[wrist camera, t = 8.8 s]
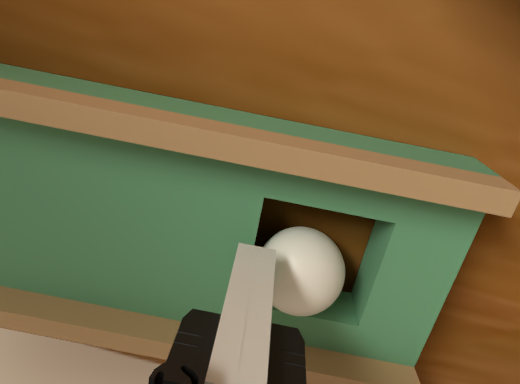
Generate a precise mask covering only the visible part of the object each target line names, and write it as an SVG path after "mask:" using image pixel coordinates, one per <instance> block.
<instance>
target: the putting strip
mask: <svg viewBox="0 0 520 384" xmlns="http://www.w3.org/2000/svg"><path fill="white" fill-rule="evenodd" d="M264 198H269V199H275V200H280V201H285V202H290V203H295V204H300V205H305V206H310V207H315V208H320V209H325V210H330V211H335V212H340V213H345V214H350V215H356V216H361V217H366V218H371V219H376V220H375V223H374V226H373V229H372V232H371V235H370V238H369V241H368V244H367V247H366V250H365V253H364V256H363V258H362V261H361V264H360V267H359V270H358V273H357V276H356V279H355V282H354V285H353V288H352V291H351V293H350V292H345V291H341V292H340V294H339V296H338V298H337V299H336V300H335V301H334V303H333V304H332V305H331V306H329V307H328V308H327V309H325V310H324V311H322V312H320V313H317V314H314V315H311V316H293V315H289V314H286V313H284V312H282V311H280V310H278V309H277V308H275V307H274V306H273V305H272V318H271V323H274V324H279V325H284V326H289V327H294V328H298V329H299V331H300V333H301V335H302V337H303V339H304V341H305V360H306V367H305V368H306V383H307V384H420V381H419V379H418V376H417V373H416V370H415V368H414V367H415V364H416V362H417V360H418V358H419V356H420V354H421V351H422V349H423V347H424V345H425V343H426V341H427V338H428V336H429V334H430V332H431V330H432V328H433V325H434V323H435V321H436V319H437V317H438V315H439V313H440V310H441V308H442V306H443V304H444V302H445V300H446V297H447V295H448V293H449V291H450V289H451V287H452V284H453V282H454V280H455V278H456V276H457V274H458V271H459V269H460V267H461V265H462V263H463V261H464V259H465V256H466V254H467V252H468V250H469V248H470V246H471V243H472V241H473V239H474V237H475V235H476V233H477V230H478V228H479V226H480V224H481V222H482V220H483V217H484V215H485V213H489V214H494V215H499V216H504V217H509V218H511V217H512V215H513V213H514V211H515V209H516V207H517V205H518V203H519V201H520V190H519V189H518V188H516V187H515V186H513V185H512V184H511V183H509V182H508V181H506V180H505V179H504V178H502V177H501V176H499V175H498V174H497V173H495V172H494V171H492V170H491V169H490V168H488V167H487V166H485V165H484V164H483V163H481V162H480V161H478V160H477V159H476V158H474V157H470V156H465V155H460V154H455V153H450V152H445V151H440V150H435V149H430V148H425V147H420V146H415V145H410V144H404V143H399V142H394V141H389V140H384V139H379V138H374V137H369V136H364V135H359V134H354V133H349V132H344V131H339V130H334V129H329V128H324V127H319V126H314V125H309V124H304V123H299V122H294V121H289V120H284V119H278V118H273V117H268V116H263V115H258V114H253V113H248V112H243V111H238V110H233V109H228V108H223V107H218V106H213V105H208V104H203V103H198V102H193V101H188V100H183V99H178V98H173V97H168V96H163V95H158V94H153V93H147V92H142V91H137V90H132V89H127V88H122V87H117V86H112V85H107V84H102V83H97V82H92V81H87V80H82V79H77V78H72V77H67V76H62V75H57V74H52V73H47V72H42V71H37V70H32V69H27V68H22V67H16V66H11V65H6V64H1V63H0V328H5V329H10V330H15V331H21V332H26V333H31V334H36V335H41V336H46V337H51V338H56V339H62V340H66V341H71V342H77V343H82V344H87V345H92V346H97V347H102V348H107V349H112V350H117V351H123V352H128V353H133V354H138V355H143V356H148V357H153V358H158V359H163V360H167V358H168V355H169V353H170V350H171V347H172V345H173V343H174V339H175V337H176V334H177V332H178V329H179V326H180V323H181V321H182V318H183V317H184V316H185V315H186V314H187V313H188V312H189V311H190V310H192V309H198V310H203V311H208V312H213V313H218V314H221V313H222V309H223V305H224V301H225V297H226V293H227V289H228V285H229V281H230V277H231V273H232V268H233V264H234V260H235V256H236V252H237V248H238V244H239V243H244V244H249V245H254V244H255V239H256V234H257V230H258V225H259V220H260V215H261V210H262V205H263V200H264Z"/></svg>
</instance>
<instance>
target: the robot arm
mask: <svg viewBox="0 0 520 384" xmlns="http://www.w3.org/2000/svg"><path fill="white" fill-rule="evenodd" d="M275 260H276V250H274V249H269V248H264V247H259V246H254V245H249V244H244V243H239V244H238V248H237V252H236V256H235V260H234V264H233V268H232V273H231V277H230V281H229V285H228V289H227V293H226V297H225V301H224V305H223V309H222V313H221V314H218V313H213V312H208V311H203V310H198V309H192V310H190V311H189V312H188V313H187V314H186V315H185V316H184V317H183V318H182V321H181V323H180V326H179V329H178V332H177V334H176V337H175V339H174V343H173V345H172V347H171V350H170V353H169V355H168V358H167V361H166V363H163V364H161V365H160V366H159V367H157V368H156V369H154V371H153V372H152V374H151V375H150V377H149V384H307V383H306V368H305V367H306V360H305V341H304V339H303V337H302V335H301V333H300V331H299V329H298V328H294V327H289V326H284V325H279V324H274V323H271V318H272V303H273V289H274V274H275Z"/></svg>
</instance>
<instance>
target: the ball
mask: <svg viewBox="0 0 520 384" xmlns="http://www.w3.org/2000/svg"><path fill="white" fill-rule="evenodd" d="M263 247H264V248H269V249H274V250H276V260H275V274H274V289H273V303H272V305H273V306H274V307H275V308H277V309H278V310H280V311H282V312H284V313H286V314H289V315H293V316H311V315H314V314H317V313H320V312H322V311H324V310H325V309H327V308H328V307H329V306H331V305H332V304H333V303H334V301H335V300H336V299H337V298H338V296H339V294H340V292H341V290H342V288H343V285H344V280H345V264H344V260H343V257H342V254H341V252H340V250H339V248H338V247H337V245H336V244H335V243H334V242H333V241H332V240H331V239H330V238H329V237H328V236H327V235H325V234H324V233H322V232H320V231H318V230H316V229H313V228H310V227H303V226H297V227H290V228H287V229H284V230H282V231H280V232H278V233H276V234H275V235H273V236H272V237H271V238H270V239H269V240H268V241H267V242H266V244H265V245H264V246H263Z"/></svg>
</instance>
